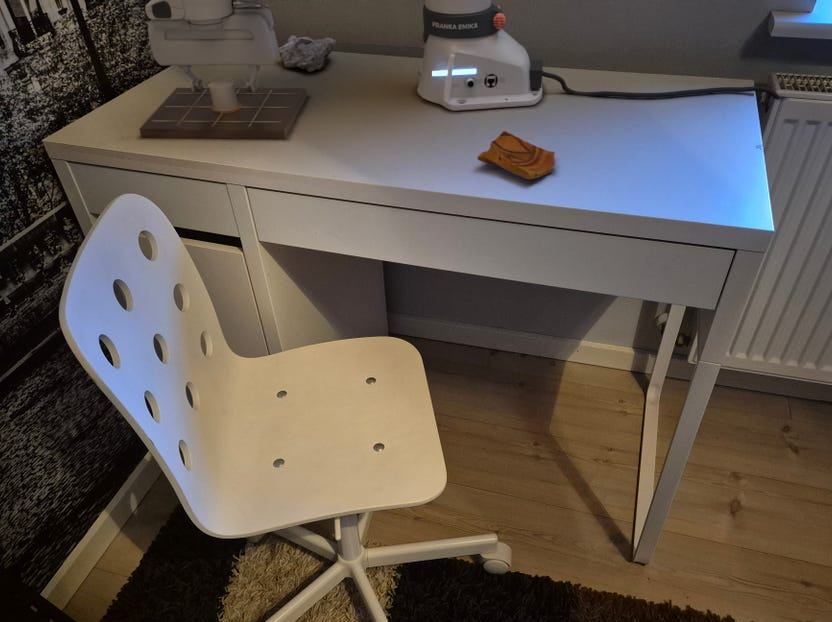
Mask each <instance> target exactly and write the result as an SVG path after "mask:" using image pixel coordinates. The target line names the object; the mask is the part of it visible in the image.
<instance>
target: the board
mask: <svg viewBox="0 0 832 622" xmlns="http://www.w3.org/2000/svg"><path fill="white" fill-rule="evenodd" d="M235 90H236V95H237V100H238V105H239V106H238V108H236V109H234V110H232V111H227V112H219V111H216V110H214V108H213V103H212V99H211V95H210V90H209V87H203V90H202V91H201V92H192V90H191V87H176V88H174V90H173V91H172V92H171V93H170V94H169V95H168V96H167V97H166V98H165V99H164V101H163V102H162V103H161V104H160V105H159V106H158V107H157V109H155V111H154V112H153V113H152V114H151V115H150V116H149V117H148V118H147V120H146V121H145V122H144V123H143V124H141V126H140V127H139V133H140V136H141V138H147V139H149V138H151V139H153V138H154V139H155V138H156V139H157V138H158V139H159V138H161V139H239V140H240V139H241V140H243V139H247V140H249V139H252V140H253V139H254V140H255V139H256V140H266V139H267V140H286V138H287V136H288V135H289V134H290V131H291V129H292V127H293V125H294V123H295V121H296V120H297V117H298V115H299V113H300V111H301V109H302V107H303V105H304V104H305V102H306V100H307V98H308V93H307V88H306V87H257V91H256V92H247V91H246V87H235Z"/></svg>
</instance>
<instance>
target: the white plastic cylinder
mask: <svg viewBox="0 0 832 622" xmlns="http://www.w3.org/2000/svg"><path fill="white" fill-rule="evenodd" d="M207 86H208V88H209V90H210V95H211V99H212V103H213V108H214V110H216V111H219V112H227V111H232V110H234V109H236V108H238V106H239V105H238V100H237V95H236V90H235V88H236V85H235V81H234V80H233V79H229V78H217V79H214V80H211V81H210V82H208V85H207Z"/></svg>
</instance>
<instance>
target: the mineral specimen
mask: <svg viewBox="0 0 832 622" xmlns="http://www.w3.org/2000/svg"><path fill="white" fill-rule="evenodd" d="M336 43H337V40H336V39H333V38H331V37H324V38H319V39H314V40H313V39H312V38H311V37H308V36H299V37H297V36H296V35H293V34H291V35H290V36H289V38H288V39H287V41H286V43H285V44H283V45H281V46H280V47H278V48H279V57H280V60H282V61H283V64H284V68H287V69H293V68H298V69H299V68H300V69H301V70H306V71H308V72H314V71H317V70H318V71H320V70H321V69H324V67H325V65H326V61H327V59H328V57H329V56H330V54H332V52H333V50H335V49H336V45H337V44H336Z"/></svg>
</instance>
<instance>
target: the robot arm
mask: <svg viewBox="0 0 832 622" xmlns="http://www.w3.org/2000/svg"><path fill="white" fill-rule="evenodd" d="M144 10H145V13H146V16H147V17H148V19H149V20H150V21H149V22H148V24H147V34H148V40H149V44H150V50H151V53H152V56H153V59H154V61H156V63H158V64H159V65H160V66H162V67H163V66H167V67H169V66H177V67H178V70H179V73H180V74H181V75H182V76H183V77H184V79H185V80H186V81H187V82H188V83H189V86H190V87H189V88H191V90H192V92H201V91H202V90H203V88H204V84H203V80H202V78H201V77H197V76H195V74H194V72H193V71H192V70H191V69H192V68H193V66H247V69H248V72H251V75H250V77H247V78H246V79H245V81H244V86H245V88H246V91H247V92H256V91H257V88H258V81H257V77H258V75H259V73H260V69H261V66H272V65H274V63H275V62H276V61H277V60H278V57H280V55H279V48H280V47H279V44H278V40H277V36H276V32H275V30H274V27H275V19H274V13H273V10H272V8H271V7H270V5H268V4H266V3H264V2H263V1H262V0H150V1H149V2H147V3H146V5H145V7H144ZM506 19H507V18H506V15H505V14H504V12H503V9H501V6H500V5H499V4H497V5H495V4H494V3H492V0H424V4H423V6H422V12H421V35H422V40H423V43H424V44H423V47H424V48H423V57H422V65H421V72H420V76H419V82H418V85H417V89H416V91H417V94H418V95H419V96H420V97H421V98H422V99H424V100H426V101H429V102H431V103H434V104H438V105H440V106H442V107H444V108H445V109H447V110H448V111H449V110H450V111H454V112H455V111H456V112H457V111H470V110H471V111H472V110H485V109H501V108H512V107H513V108H514V107H526V106H527V107H528V106H534V105H536V104H538V103H539V102H540V101H541V99H542V97H543V83H542V82H543V77H544V78H549V79H552V80H555V81H557V82H558V83H559V84H561V88H562V90H563V91H564V92H565V93H566V94H569V95H571V96H572V95H573V96H581V97H616V98H634V99H635V98H639V99H641V98H644V99H645V98H646V99H649V98H652V99H653V98H670V97H679V96H680V97H681V96H688V95H702V94H711V93H748V92H763V93H767V94H769V95H770V96H771V97H773V99H775V100H781V97H780V95H779V93H778V92H776V91H775V90H774V89H772V88H770V87H768V86H762V85H761V86H760V85H755V86H754V85H753V86H721V87H720V86H719V87H708V88H697V89H685V90H673V91H663V92H631V91H630V92H628V91H627V92H626V91H609V90H605V91H604V90H601V91H600V90H599V91H577V90H574V89H572V88H570V87H568V86H567V83H566V81H565V79H563V78H562V77H561V76H560V75H558V74H555V73H551V72H547V71H544V69H543V66H544V65H543V60H542V59H531V58H530V57H529V53H528V51H527V50H526V49H525V47H524V46H523V45H521V44H520V43H519V42H518V41H517V40H516V39H514V38H513V37H512V36H511V35H510V34H508V33H507V32H506V31H505V30H504V27H505V26H506V23H507V21H506Z"/></svg>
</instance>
